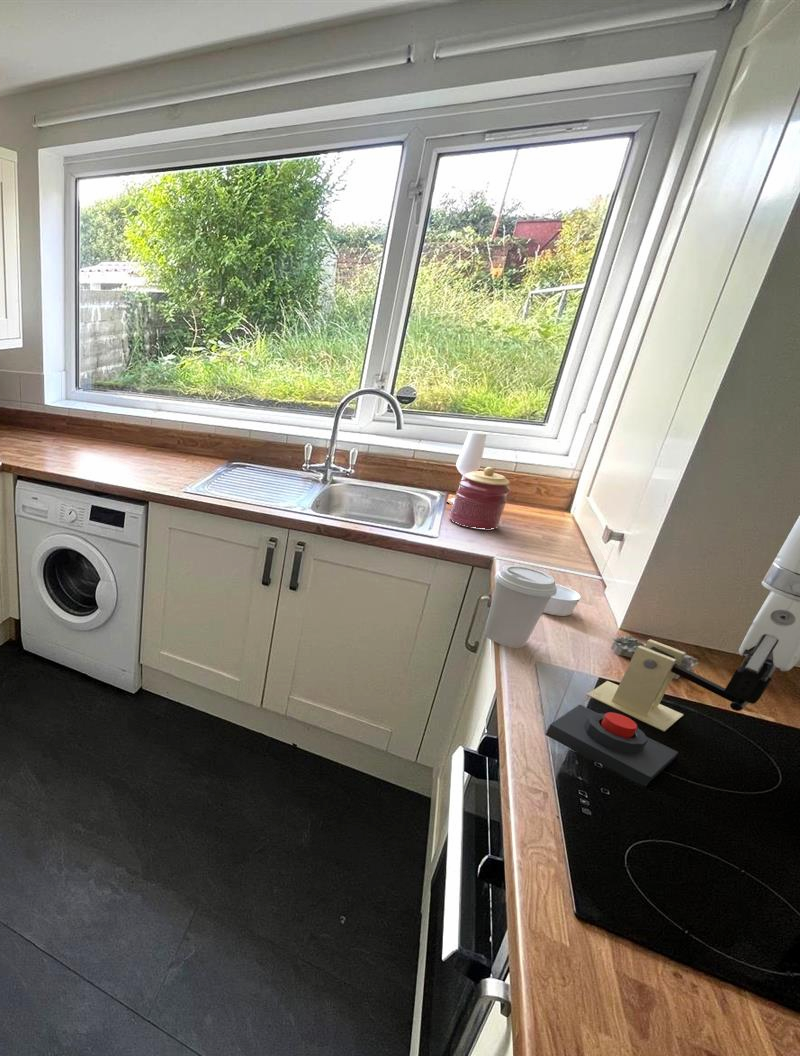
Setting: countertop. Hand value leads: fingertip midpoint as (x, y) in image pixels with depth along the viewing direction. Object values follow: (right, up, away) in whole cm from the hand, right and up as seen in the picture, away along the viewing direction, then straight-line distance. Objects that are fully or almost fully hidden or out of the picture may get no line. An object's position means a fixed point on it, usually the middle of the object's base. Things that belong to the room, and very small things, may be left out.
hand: (740, 696), depth 84 cm
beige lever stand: (-5, -5, +11) cm, 14 cm away
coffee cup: (-13, +2, +29) cm, 32 cm away
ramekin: (+7, +8, +44) cm, 45 cm away
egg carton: (+9, -1, +24) cm, 25 cm away
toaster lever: (-3, +1, +5) cm, 5 cm away
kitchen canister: (+24, +28, +92) cm, 99 cm away
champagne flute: (+30, +35, +110) cm, 119 cm away
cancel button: (-17, -5, +1) cm, 18 cm away
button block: (-17, -9, +3) cm, 19 cm away
